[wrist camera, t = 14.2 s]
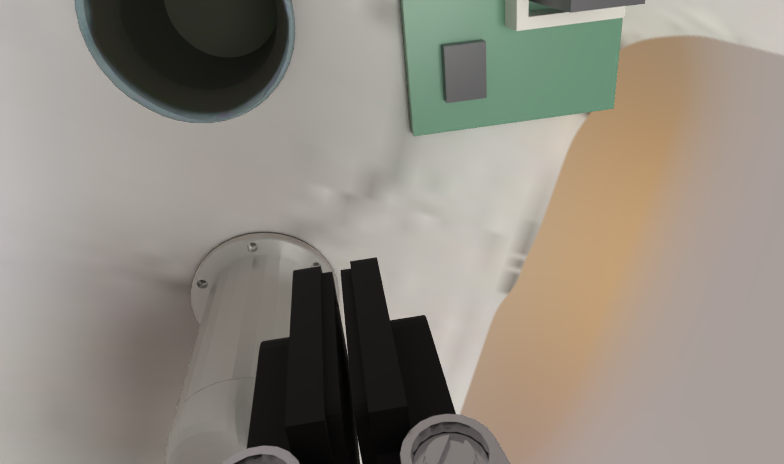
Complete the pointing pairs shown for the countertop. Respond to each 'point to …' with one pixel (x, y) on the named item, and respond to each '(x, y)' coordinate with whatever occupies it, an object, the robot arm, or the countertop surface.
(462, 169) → the countertop surface
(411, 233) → the countertop surface
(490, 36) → the board
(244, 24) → the dark grey open cylinder
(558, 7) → the plug
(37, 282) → the countertop surface
